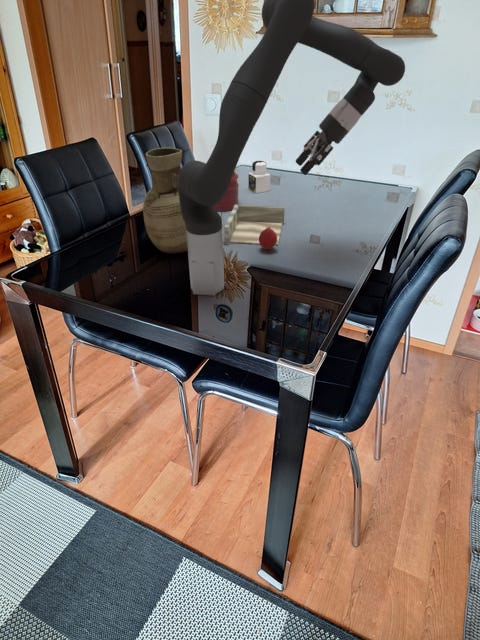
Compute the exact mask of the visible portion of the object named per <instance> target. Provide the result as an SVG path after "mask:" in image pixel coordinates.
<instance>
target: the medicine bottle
mask: <svg viewBox="0 0 480 640" xmlns="http://www.w3.org/2000/svg"><path fill="white" fill-rule="evenodd" d="M251 164H252V166H251V167H252V168H251V172H248V190H250V191H251V192H253V193H255V194H259V193H267V192H270V191H271V174H270V173H268V172H267V162H266V161H264V160H256V161H255V160H254V161H253V162H252V163H251Z"/></svg>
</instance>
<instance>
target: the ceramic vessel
mask: <svg viewBox="0 0 480 640" xmlns="http://www.w3.org/2000/svg"><path fill="white" fill-rule="evenodd" d="M145 158H146V161H147V165H148V166H149V169H150V172H151V173H150V174H151V184H152V187H151V188H150V189H148V191H147V192H146V195H145V197H144V200H143V205H142V210H143V211H142V212H143V222H144V227H145V230H146V233H147V235H148V237H149V239H150V241H151V243H152V244H153V245H154V247H156V249H158V250H159V251H160V252H163V253H164V254H181V253H188V248H187V235H186V225H185V222H184V220H183V218H182V214H181V208H180V201H179V193H178V176H179V173H180V170H181V168H182V167H181V165H182V158H183V150H182V149H179V148H175V147H158V148H152V149H150V150H149V151H147V152H146V153H145Z"/></svg>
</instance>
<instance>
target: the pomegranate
mask: <svg viewBox="0 0 480 640" xmlns="http://www.w3.org/2000/svg"><path fill="white" fill-rule="evenodd" d="M276 242H277V235H276V233H275V232H274V231H273V230H272V229H271V227H270V226H267V228H266V229H265V230H263V231H262V232H261V234H260V236H259V243H260V245H259V246H261V247H262V248H263V249H265V250H266V251H269V250H271V249H272V248H274V247H276V246H275V244H276Z"/></svg>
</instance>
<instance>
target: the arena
mask: <svg viewBox="0 0 480 640" xmlns="http://www.w3.org/2000/svg"><path fill="white" fill-rule="evenodd" d="M284 224H285V206H278V205H277V206H274V205H273V206H272V205H270V206H269V205H250V204H249V205H248V204H238V205H235V206H234V208H233V210H231V212H230V214H229V216H228V218H227V220H226V223H225V225H224V229H223V230H224V232H223V233H224V245H230V244H238V243H251V244H250V245H255V244H260V243H259V236H260V234H261V232H262V231H263V230H265V229H266V228H267V226H270V227H271V229H272V230H273V231H274V232H275V233H276V235H277V242H276V244H275V245H277V246H279V242H280V238H281V232H282V227H283V225H284ZM229 243H230V244H229Z"/></svg>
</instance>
